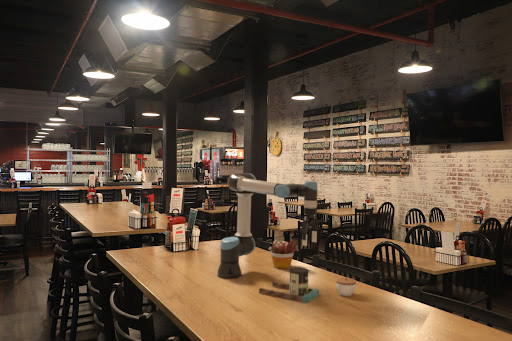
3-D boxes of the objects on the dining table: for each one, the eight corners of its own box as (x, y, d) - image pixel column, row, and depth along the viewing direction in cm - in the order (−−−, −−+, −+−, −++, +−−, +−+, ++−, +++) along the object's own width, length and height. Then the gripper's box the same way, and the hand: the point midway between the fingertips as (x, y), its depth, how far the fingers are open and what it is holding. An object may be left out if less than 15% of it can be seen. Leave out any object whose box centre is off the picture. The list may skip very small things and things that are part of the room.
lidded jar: (341, 298, 207) (341, 280, 207) (332, 292, 217) (332, 275, 217) (359, 296, 210) (360, 279, 210) (349, 290, 220) (350, 274, 220)
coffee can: (308, 293, 214) (309, 267, 214) (307, 299, 204) (307, 272, 204) (290, 292, 216) (290, 266, 216) (287, 298, 206) (288, 271, 206)
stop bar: (302, 302, 200) (302, 296, 200) (315, 294, 214) (315, 288, 213) (306, 303, 199) (306, 297, 199) (318, 294, 212) (318, 289, 212)
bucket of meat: (264, 265, 274) (264, 237, 274) (280, 262, 285) (281, 234, 285) (284, 271, 259) (285, 241, 259) (301, 267, 270) (301, 238, 270)
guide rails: (259, 293, 214) (259, 288, 214) (273, 285, 227) (273, 281, 227) (306, 303, 199) (306, 298, 199) (318, 294, 212) (318, 290, 212)
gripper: (307, 209, 217) (306, 248, 217) (324, 206, 238) (323, 241, 238) (295, 208, 221) (294, 246, 221) (313, 205, 242) (312, 239, 242)
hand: (309, 243), depth 230 cm, fingers open, 13 cm apart
